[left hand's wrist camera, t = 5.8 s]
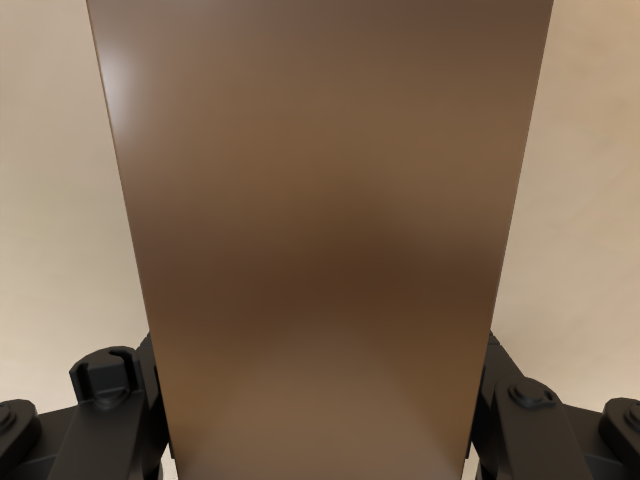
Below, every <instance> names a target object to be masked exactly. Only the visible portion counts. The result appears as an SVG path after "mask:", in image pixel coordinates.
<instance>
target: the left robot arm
mask: <svg viewBox="0 0 640 480" xmlns="http://www.w3.org/2000/svg"><path fill="white" fill-rule="evenodd" d="M69 374H70V377H71V381H72V384H73V388H74V391H75V394H76V398H77V401H78V405H76V406H73V407H69V408H65V409H61V410H56V411H52V412H48V413H43V414H39V415H38V413H37V410H36V408H35V405H34V404H33V403H31V402H30V401H29V400H22V399H16V400H9V401H4V402H1V403H0V480H163V469H162V463H161V457H162V455H163V453H164V451H165V448H166V446H167V444H168V443H169V449H170V454H171V459H174V454H173V449H172V444H171V439H170V433H169V428H168V423H167V418H166V413H165V407H164V402H163V397H162V392H161V387H160V382H159V376H158V371H157V366H156V361H155V356H154V350H153V345H152V340H151V335H150V332H149V333H148V334H147V337H145V338H144V340H143V341H142V343H141V344H140V347H138V348H137V349H136V350H134V349H133V348H130V347H126V346H114V347H108V348H104V349H100V350H97V351H95V352H93V353H91V354H89V355H86V356H85V357H83V358H82V359H81V360H79V361H78V362H76V363H75V364H74V366H73V367H72V368H71V369H70V371H69ZM471 442H473V445H474V447H475V449H476V451H477V454H478V456H479V463H478V468H477V472H476V477H475V480H640V401H638V400H635V399H629V398H622V397H621V398H614V399H611V400H609V401H608V402H607V403H606V404H605V407H604V409H603V412H602V413H599V412H595V411H591V410H586V409H582V408H578V407H573V406H569V405H566V404H563V403H562V402H561V400H560V399H559V397H558V396H557V395H556V393H555V392H553V391H552V390H551V389H550V388H548V387H547V386H546V385H544V384H542V383H540V382H538V381H536V380H534V379H531V378H528V377H524V375H523V374H522V373H521V371H520V370H519V368H518V367H517V366H516V364H515V363H514V362H513V360H512V359H511V358H510V356H509V355H508V353H507V352H506V351H505V349H504V348H503V347H502V345H500V343H499V341H498V340H497V339H496V337H495V336H493V333H492V332H491V330H490V333H489V338H488V343H487V349H486V354H485V359H484V364H483V369H482V375H481V380H480V385H479V390H478V395H477V401H476V406H475V411H474V416H473V421H472V426H471V432H470V437H469V442H468V447H467V452H466V458H465V459H468V457H469V452H470V447H471Z"/></svg>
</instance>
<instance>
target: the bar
mask: <svg viewBox="0 0 640 480" xmlns="http://www.w3.org/2000/svg"><path fill="white" fill-rule="evenodd" d="M553 1H554V0H86V3H87V9H88V14H89V19H90V24H91V29H92V34H93V40H94V45H95V50H96V55H97V60H98V66H99V71H100V76H101V81H102V86H103V91H104V97H105V102H106V107H107V112H108V117H109V123H110V128H111V133H112V138H113V143H114V148H115V154H116V159H117V164H118V169H119V174H120V180H121V185H122V190H123V195H124V200H125V205H126V211H127V216H128V221H129V226H130V231H131V237H132V242H133V247H134V252H135V257H136V262H137V268H138V273H139V278H140V283H141V288H142V293H143V299H144V304H145V309H146V314H147V319H148V325H149V330H150V335H151V340H152V345H153V350H154V356H155V361H156V366H157V371H158V376H159V382H160V387H161V392H162V397H163V402H164V407H165V413H166V418H167V423H168V428H169V433H170V439H171V444H172V449H173V454H174V459H175V464H176V470H177V475H178V480H461V478H462V473H463V468H464V463H465V458H466V452H467V447H468V442H469V437H470V432H471V426H472V421H473V416H474V411H475V406H476V401H477V395H478V390H479V385H480V380H481V375H482V369H483V364H484V359H485V354H486V349H487V343H488V338H489V333H490V328H491V323H492V318H493V312H494V307H495V302H496V297H497V292H498V286H499V281H500V276H501V271H502V266H503V260H504V255H505V250H506V245H507V240H508V234H509V229H510V224H511V219H512V214H513V209H514V203H515V198H516V193H517V188H518V183H519V177H520V172H521V167H522V162H523V157H524V151H525V146H526V141H527V136H528V131H529V125H530V120H531V115H532V110H533V105H534V100H535V94H536V89H537V84H538V79H539V74H540V68H541V63H542V58H543V53H544V48H545V42H546V37H547V32H548V27H549V22H550V16H551V11H552V6H553Z"/></svg>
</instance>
